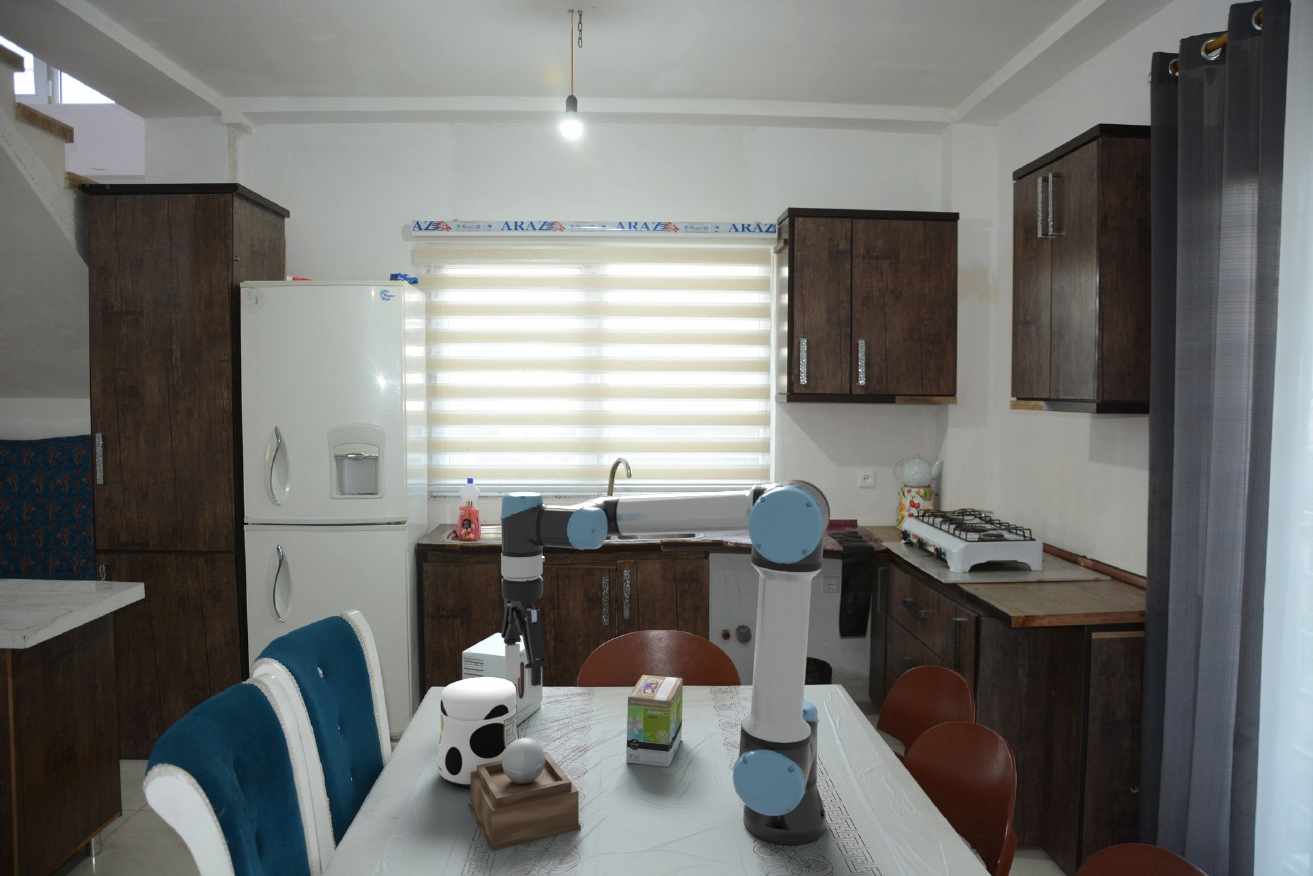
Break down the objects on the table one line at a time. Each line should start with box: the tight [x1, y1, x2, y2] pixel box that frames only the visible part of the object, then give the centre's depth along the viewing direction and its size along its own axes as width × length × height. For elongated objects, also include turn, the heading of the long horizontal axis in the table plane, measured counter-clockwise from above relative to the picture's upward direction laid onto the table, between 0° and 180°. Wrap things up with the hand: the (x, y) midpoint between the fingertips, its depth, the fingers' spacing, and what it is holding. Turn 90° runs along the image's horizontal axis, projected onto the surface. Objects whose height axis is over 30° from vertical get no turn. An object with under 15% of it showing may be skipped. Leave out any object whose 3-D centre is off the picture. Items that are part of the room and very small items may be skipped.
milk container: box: [435, 677, 520, 787], centre depth 169 cm, size 17×17×18 cm
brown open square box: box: [468, 751, 582, 852], centre depth 152 cm, size 17×17×8 cm
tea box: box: [625, 674, 684, 768], centre depth 181 cm, size 15×10×15 cm
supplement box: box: [461, 632, 542, 726], centre depth 200 cm, size 17×13×18 cm
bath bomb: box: [502, 737, 545, 784], centre depth 152 cm, size 8×8×8 cm
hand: (523, 689), depth 151 cm, fingers open, 13 cm apart
